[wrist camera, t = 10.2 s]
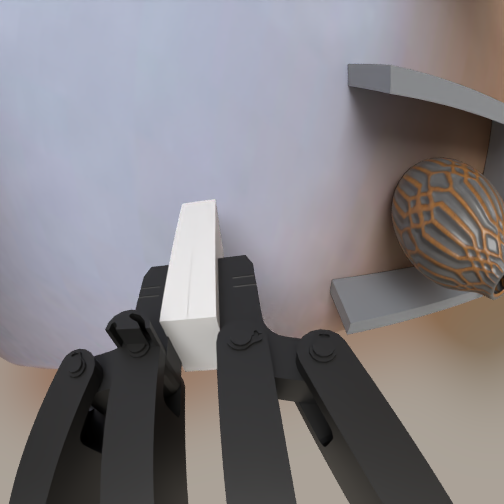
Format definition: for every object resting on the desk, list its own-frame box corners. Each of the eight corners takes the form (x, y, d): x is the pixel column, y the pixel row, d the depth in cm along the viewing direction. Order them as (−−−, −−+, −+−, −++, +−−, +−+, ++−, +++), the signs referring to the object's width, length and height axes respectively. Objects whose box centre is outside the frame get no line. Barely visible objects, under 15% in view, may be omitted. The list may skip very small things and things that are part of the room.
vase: (466, 169, 14) (553, 239, 7) (423, 245, 18) (488, 331, 11) (404, 125, 13) (525, 194, 6) (357, 223, 16) (430, 333, 9)
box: (330, 291, 20) (347, 334, 16) (347, 64, 11) (390, 64, 7) (460, 267, 20) (482, 296, 17) (501, 106, 11) (540, 123, 8)
